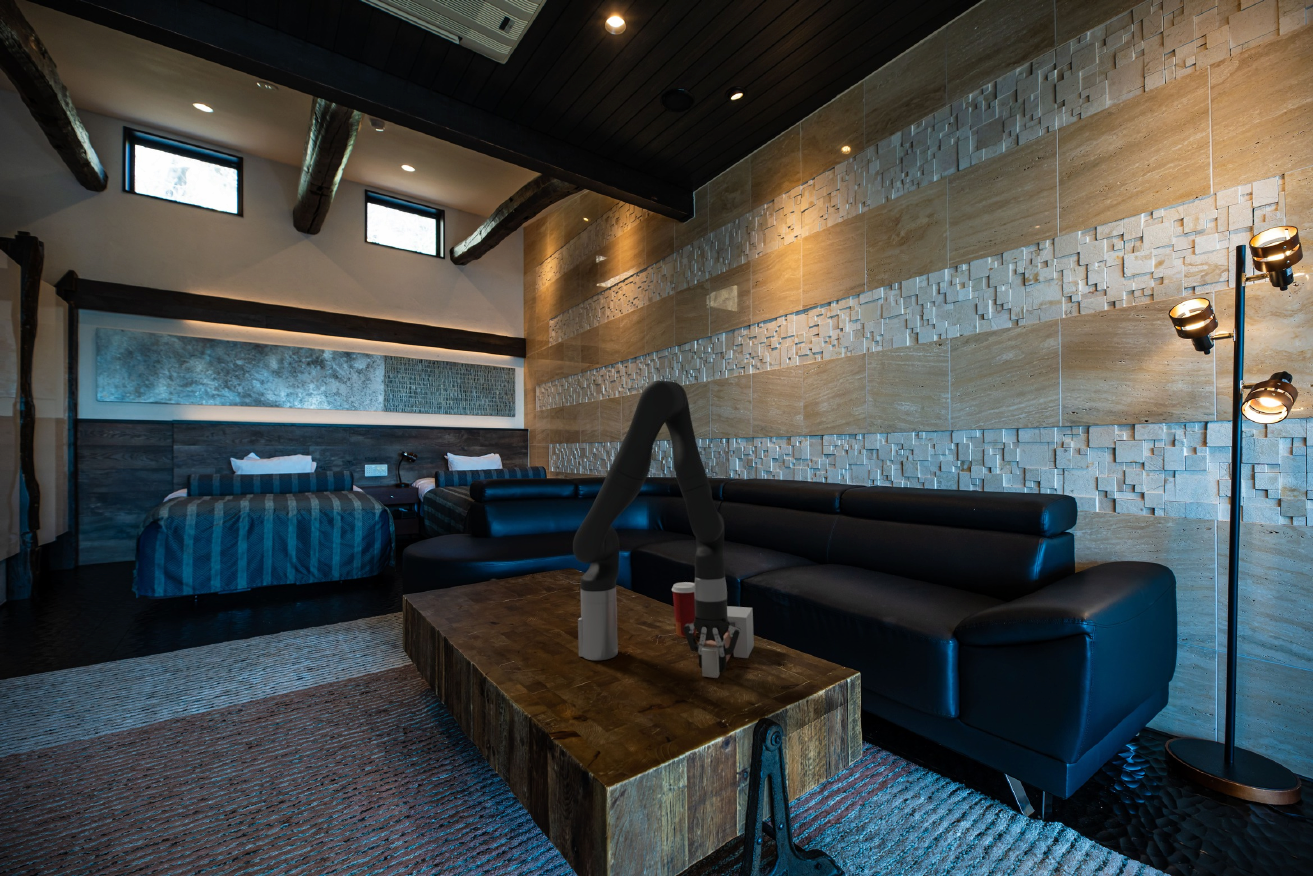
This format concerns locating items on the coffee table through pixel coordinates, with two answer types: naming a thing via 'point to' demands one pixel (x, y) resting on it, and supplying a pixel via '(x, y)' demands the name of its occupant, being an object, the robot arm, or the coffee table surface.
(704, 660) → the pink white-banded pillar
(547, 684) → the coffee table surface
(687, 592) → the paper cup
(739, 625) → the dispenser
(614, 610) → the robot arm
